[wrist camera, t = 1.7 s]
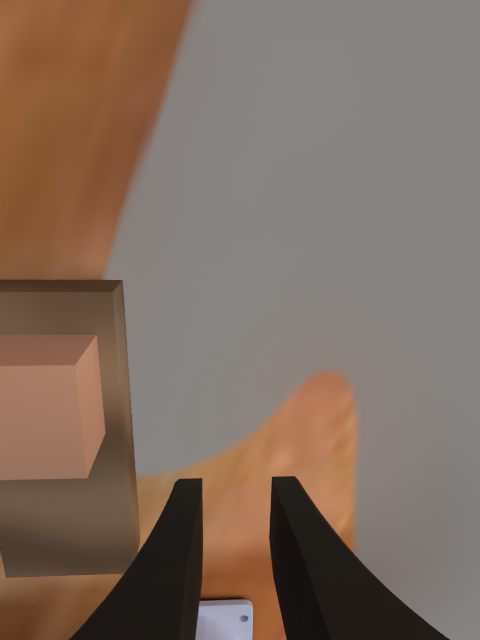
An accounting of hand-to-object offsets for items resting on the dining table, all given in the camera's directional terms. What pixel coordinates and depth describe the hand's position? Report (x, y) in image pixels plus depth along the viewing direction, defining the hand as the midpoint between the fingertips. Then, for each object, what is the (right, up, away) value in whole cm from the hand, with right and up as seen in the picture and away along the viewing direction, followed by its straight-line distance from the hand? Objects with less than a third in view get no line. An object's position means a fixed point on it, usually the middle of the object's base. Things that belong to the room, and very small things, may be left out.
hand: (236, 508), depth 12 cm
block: (-8, +2, +7) cm, 11 cm away
